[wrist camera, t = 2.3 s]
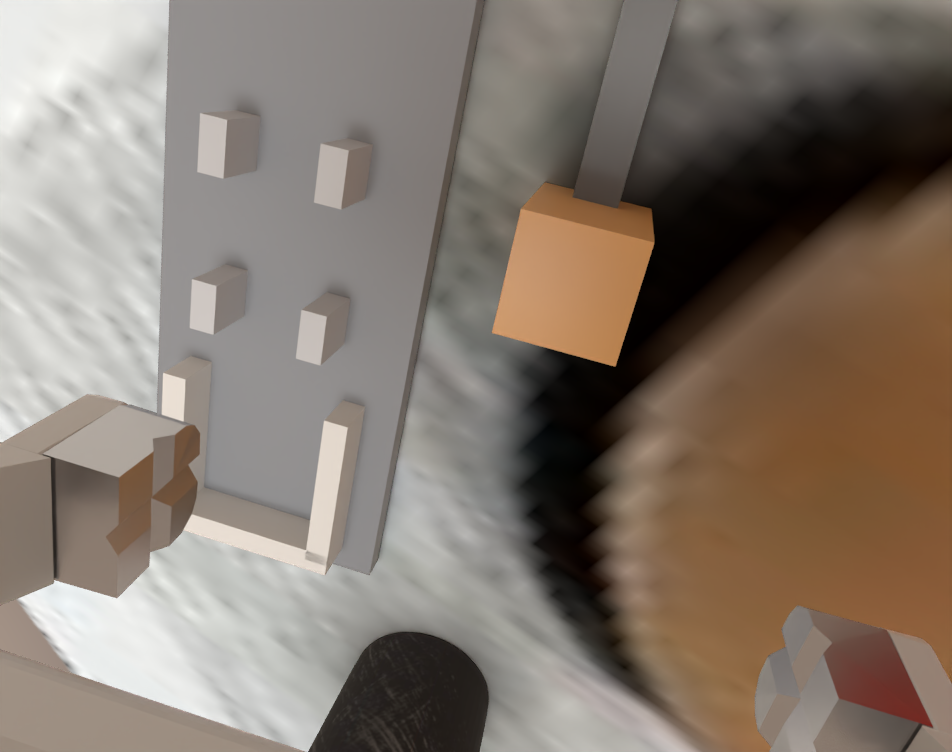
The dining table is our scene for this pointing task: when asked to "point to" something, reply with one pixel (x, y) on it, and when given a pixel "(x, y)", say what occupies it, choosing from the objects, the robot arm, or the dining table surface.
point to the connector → (591, 215)
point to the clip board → (303, 255)
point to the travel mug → (408, 700)
